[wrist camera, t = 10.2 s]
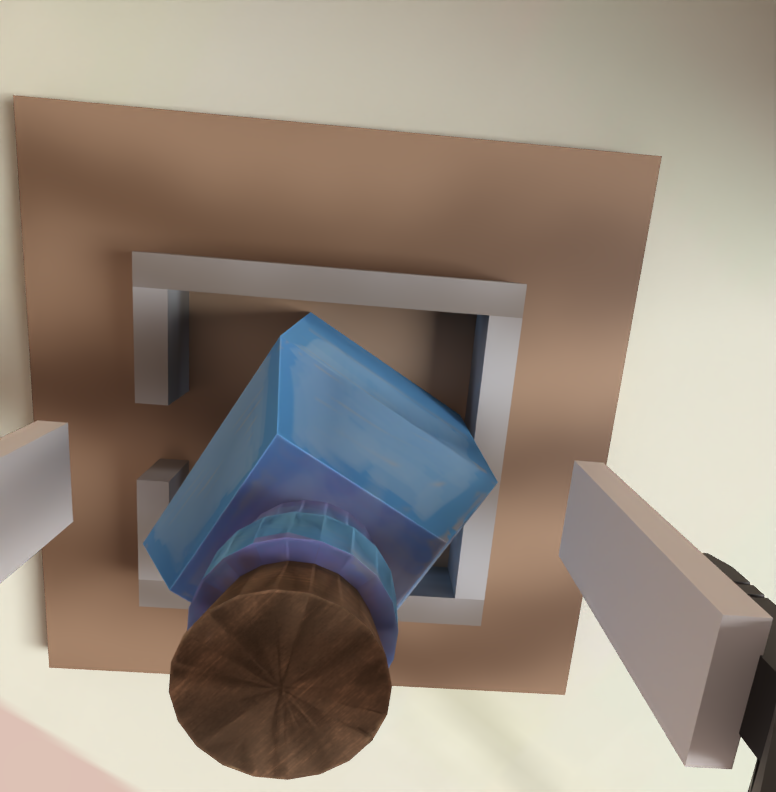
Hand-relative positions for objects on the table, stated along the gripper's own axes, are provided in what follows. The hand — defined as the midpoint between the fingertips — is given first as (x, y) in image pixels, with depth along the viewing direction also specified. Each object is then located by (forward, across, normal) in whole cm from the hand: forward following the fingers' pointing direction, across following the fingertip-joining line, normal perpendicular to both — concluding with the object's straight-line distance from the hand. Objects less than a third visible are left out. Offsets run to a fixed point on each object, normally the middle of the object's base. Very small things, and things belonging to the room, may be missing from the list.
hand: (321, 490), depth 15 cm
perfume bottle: (+5, 0, 0) cm, 5 cm away
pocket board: (+6, 0, 0) cm, 6 cm away
